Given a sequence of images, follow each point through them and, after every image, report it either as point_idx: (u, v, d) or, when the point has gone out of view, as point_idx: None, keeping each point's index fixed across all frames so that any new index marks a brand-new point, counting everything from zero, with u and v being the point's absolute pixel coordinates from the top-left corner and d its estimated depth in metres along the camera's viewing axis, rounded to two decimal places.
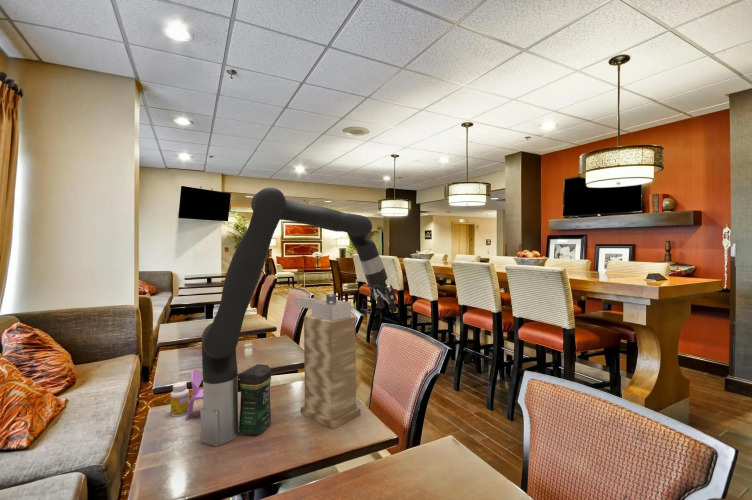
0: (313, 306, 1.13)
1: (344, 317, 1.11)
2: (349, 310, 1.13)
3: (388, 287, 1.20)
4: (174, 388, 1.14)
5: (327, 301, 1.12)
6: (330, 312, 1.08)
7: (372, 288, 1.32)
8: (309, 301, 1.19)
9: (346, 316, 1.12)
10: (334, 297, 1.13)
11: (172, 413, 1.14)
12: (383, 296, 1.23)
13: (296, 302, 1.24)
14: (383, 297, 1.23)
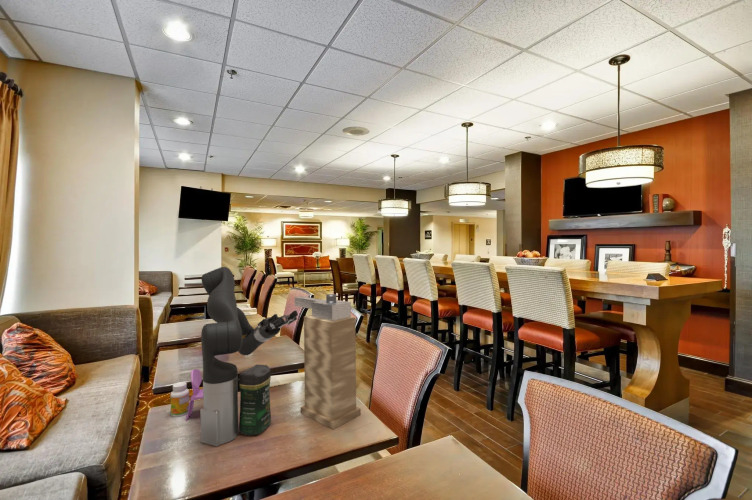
0: (313, 306, 1.13)
1: (344, 317, 1.11)
2: (349, 310, 1.13)
3: None
4: (174, 388, 1.14)
5: (327, 301, 1.12)
6: (330, 312, 1.08)
7: None
8: (309, 301, 1.19)
9: (346, 316, 1.12)
10: (334, 297, 1.13)
11: (172, 413, 1.14)
12: None
13: (296, 302, 1.24)
14: (284, 315, 1.37)
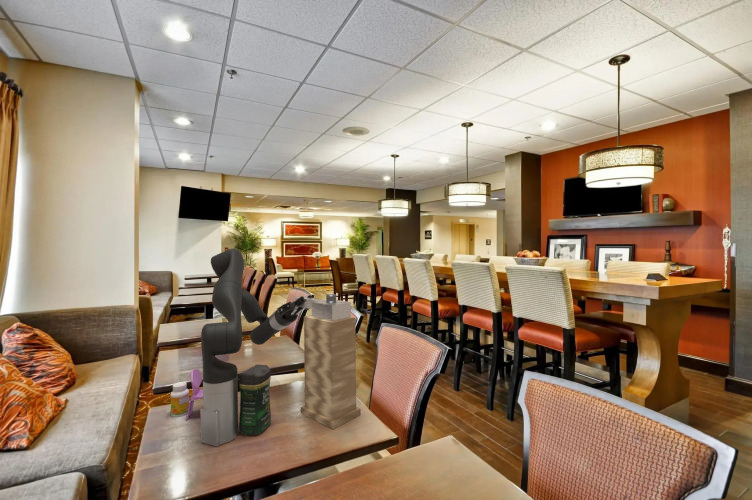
0: (313, 306, 1.13)
1: (344, 317, 1.11)
2: (349, 310, 1.13)
3: None
4: (174, 388, 1.14)
5: (327, 301, 1.12)
6: (330, 312, 1.08)
7: None
8: (309, 301, 1.19)
9: (346, 316, 1.12)
10: (334, 297, 1.13)
11: (172, 413, 1.14)
12: None
13: None
14: None
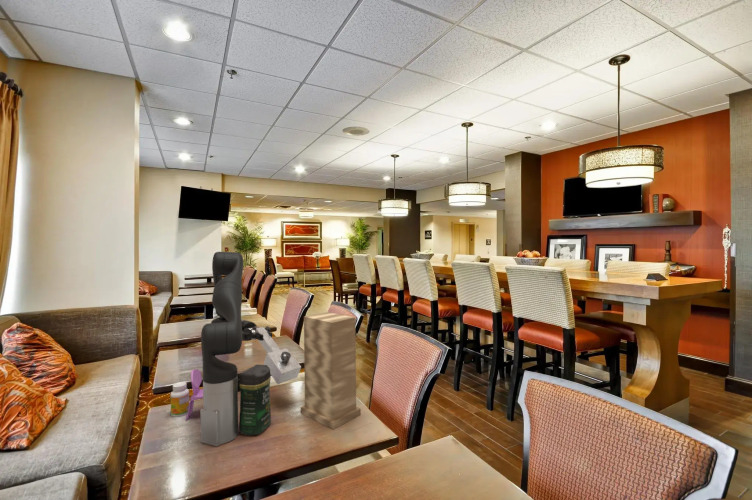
0: (267, 357, 1.22)
1: (290, 378, 1.21)
2: (297, 372, 1.22)
3: None
4: (174, 388, 1.14)
5: (280, 360, 1.20)
6: (278, 376, 1.17)
7: None
8: (266, 344, 1.26)
9: (292, 377, 1.22)
10: (287, 359, 1.20)
11: (172, 413, 1.14)
12: None
13: None
14: None
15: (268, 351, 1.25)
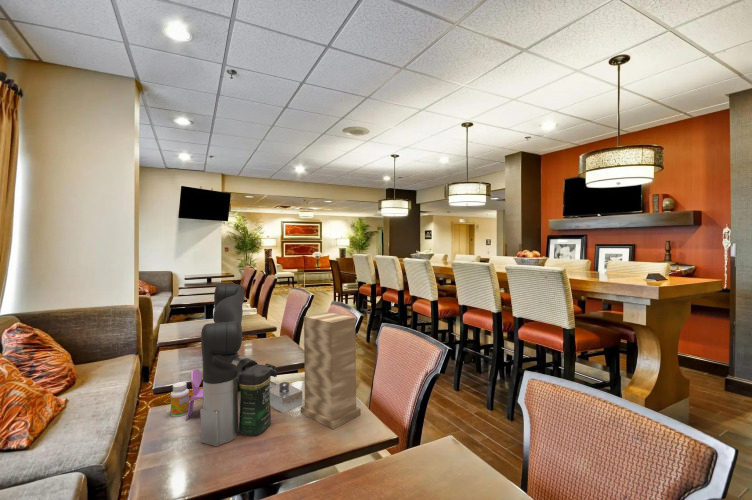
0: None
1: (295, 406, 1.20)
2: (300, 398, 1.21)
3: None
4: (174, 388, 1.14)
5: (280, 390, 1.21)
6: (281, 404, 1.16)
7: None
8: None
9: (297, 405, 1.20)
10: (286, 387, 1.21)
11: (172, 413, 1.14)
12: None
13: None
14: None
15: None
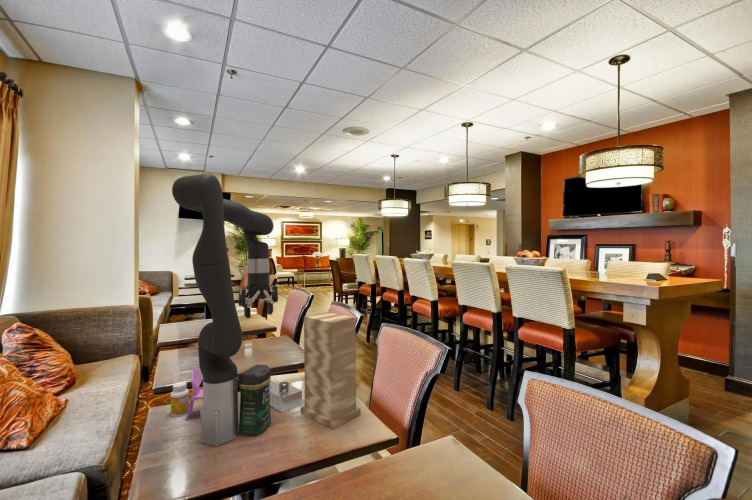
0: None
1: (295, 406, 1.20)
2: (300, 398, 1.21)
3: None
4: (174, 388, 1.14)
5: (280, 390, 1.21)
6: (280, 404, 1.17)
7: None
8: None
9: (297, 404, 1.20)
10: (286, 386, 1.21)
11: (172, 413, 1.14)
12: (270, 296, 1.27)
13: None
14: (269, 297, 1.27)
15: None
